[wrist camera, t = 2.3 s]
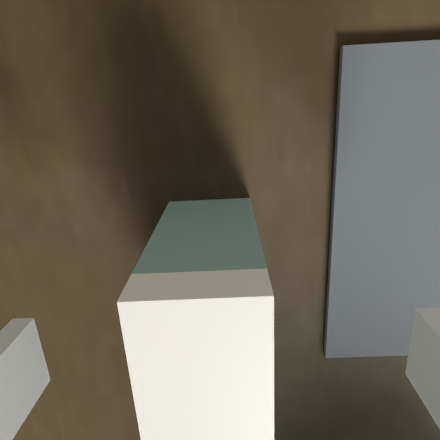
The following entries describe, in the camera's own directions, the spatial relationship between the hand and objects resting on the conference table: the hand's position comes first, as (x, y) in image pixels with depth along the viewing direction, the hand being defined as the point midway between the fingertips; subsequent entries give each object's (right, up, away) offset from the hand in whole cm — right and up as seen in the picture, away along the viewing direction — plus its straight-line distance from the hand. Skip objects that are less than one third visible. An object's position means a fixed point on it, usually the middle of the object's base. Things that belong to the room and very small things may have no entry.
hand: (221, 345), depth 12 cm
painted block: (0, +2, +6) cm, 7 cm away
